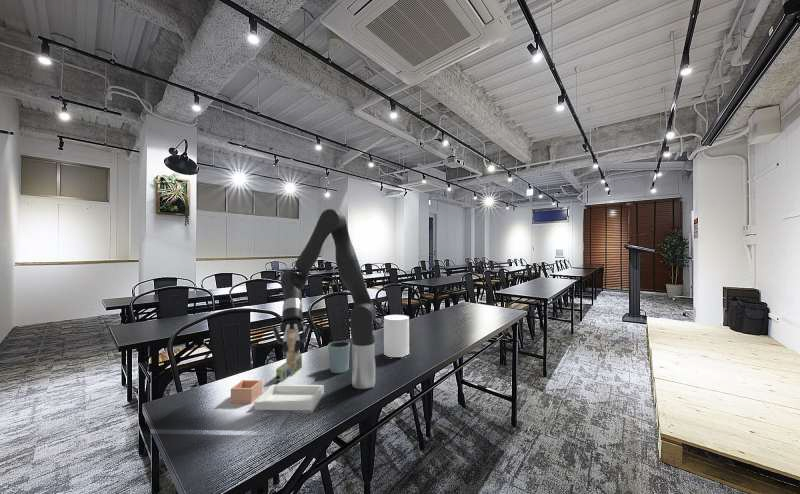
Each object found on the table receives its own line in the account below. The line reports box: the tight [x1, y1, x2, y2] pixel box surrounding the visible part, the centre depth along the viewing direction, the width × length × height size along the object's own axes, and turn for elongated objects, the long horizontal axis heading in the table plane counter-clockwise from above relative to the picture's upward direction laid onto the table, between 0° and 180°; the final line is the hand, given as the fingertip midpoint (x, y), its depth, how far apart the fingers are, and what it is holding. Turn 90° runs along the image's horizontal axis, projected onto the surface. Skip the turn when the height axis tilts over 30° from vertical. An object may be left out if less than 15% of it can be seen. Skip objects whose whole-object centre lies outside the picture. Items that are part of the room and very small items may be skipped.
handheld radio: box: [269, 353, 303, 388], centre depth 132 cm, size 7×3×25 cm
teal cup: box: [327, 340, 351, 374], centre depth 141 cm, size 10×10×12 cm
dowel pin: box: [285, 329, 297, 370], centre depth 110 cm, size 3×3×14 cm
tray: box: [253, 383, 325, 414], centre depth 110 cm, size 20×14×4 cm
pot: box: [230, 379, 263, 404], centre depth 111 cm, size 8×8×6 cm
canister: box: [383, 314, 410, 357], centre depth 163 cm, size 14×14×20 cm
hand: (291, 352), depth 108 cm, fingers closed on dowel pin, 3 cm apart
